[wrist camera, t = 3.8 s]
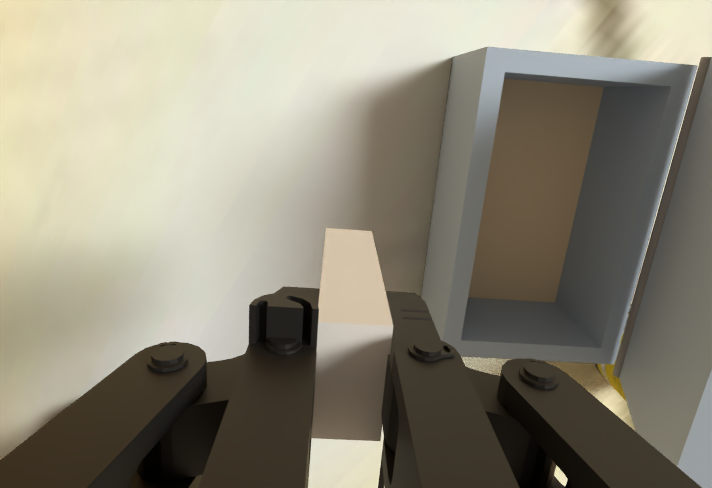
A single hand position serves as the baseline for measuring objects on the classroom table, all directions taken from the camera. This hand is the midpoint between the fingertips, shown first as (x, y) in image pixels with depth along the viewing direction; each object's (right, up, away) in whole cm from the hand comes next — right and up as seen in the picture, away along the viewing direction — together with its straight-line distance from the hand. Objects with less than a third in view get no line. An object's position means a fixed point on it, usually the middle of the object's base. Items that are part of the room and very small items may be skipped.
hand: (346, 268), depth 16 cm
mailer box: (+10, +4, +15) cm, 19 cm away
